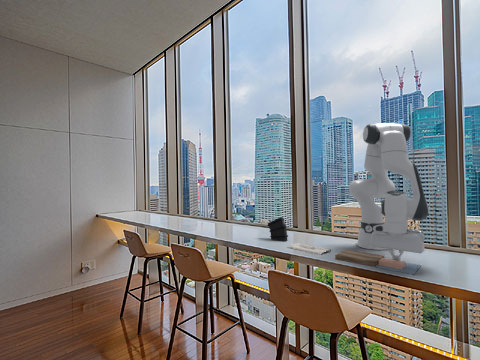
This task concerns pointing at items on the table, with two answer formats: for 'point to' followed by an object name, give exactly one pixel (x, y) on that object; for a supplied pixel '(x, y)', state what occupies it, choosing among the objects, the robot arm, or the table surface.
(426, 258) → the table surface
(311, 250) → the newspaper
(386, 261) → the salmon pink block
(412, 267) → the mat
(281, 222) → the black folded cloth
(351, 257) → the deck
